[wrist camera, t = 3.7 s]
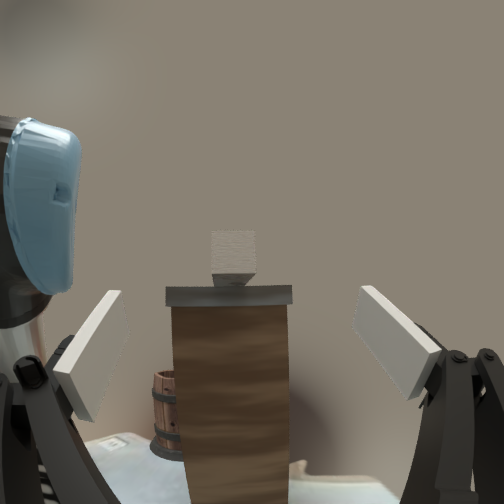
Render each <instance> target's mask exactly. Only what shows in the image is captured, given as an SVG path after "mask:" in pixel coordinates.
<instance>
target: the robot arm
mask: <svg viewBox="0 0 504 504" xmlns="http://www.w3.org/2000/svg"><path fill="white" fill-rule="evenodd" d="M81 157H82V150H81V145H80V142H79V140H78V138H77V137H76V136H75V135H74V134H73V133H72V132H71V131H69V130H66V129H62V128H59V127H55V126H51V125H47V124H43V123H40V122H39V121H37V120H36V119H33V118H29V117H28V118H25V119H23V118H16V117H9V116H1V115H0V504H45V502H44V497H43V492H42V487H41V481H40V474H39V467H38V458H37V448H38V451H39V454H40V457H41V460H42V462H43V465H44V467H45V470H46V473H47V475H48V477H49V480H50V482H51V484H52V487H53V489H54V491H55V493H56V495H57V497H58V499H59V501H60V503H61V504H121V503H120V501H119V500H118V499H117V497H116V496H115V494H114V493H113V492H112V490H111V489H110V487H109V486H108V484H107V483H106V481H105V479H104V478H103V476H102V475H101V473H100V471H99V470H98V468H97V466H96V465H95V463H94V461H93V459H92V458H91V456H90V454H89V452H88V450H87V448H86V447H85V445H84V443H83V441H82V439H81V437H80V435H79V433H78V431H77V428H76V426H75V424H74V422H73V420H72V419H71V415H72V412H73V410H74V412H75V414H76V415H77V417H78V419H80V420H85V421H89V422H95V419H96V416H97V414H98V411H99V408H100V405H101V403H102V400H103V397H104V395H105V392H106V389H107V387H108V385H109V382H110V380H111V377H112V375H113V372H114V370H115V367H116V365H117V362H118V360H119V358H120V355H121V353H122V351H123V348H124V346H125V344H126V341H127V339H128V337H129V335H130V332H129V328H128V323H127V318H126V313H125V308H124V303H123V297H122V291H116V290H109V291H108V292H107V293H106V295H105V296H104V297H103V298H102V300H101V301H100V302H99V304H98V305H97V307H96V308H95V309H94V310H93V312H92V313H91V314H90V316H89V318H88V319H87V320H86V321H85V323H84V324H83V326H82V327H81V328H80V330H79V331H78V333H77V334H76V335H69V336H68V337H67V338H65V339H64V340H63V341H62V342H61V343H60V345H59V346H58V349H56V350H55V352H54V354H53V355H52V356H51V358H50V359H49V360H48V355H47V348H46V341H45V330H44V319H43V312H44V311H45V310H46V308H47V307H48V305H49V304H50V302H51V300H52V298H53V296H54V295H55V294H57V293H60V292H61V293H63V292H66V291H68V289H70V288H71V285H72V281H73V258H74V229H75V213H76V205H77V195H78V185H79V176H80V167H81ZM352 328H353V329H354V330H355V332H356V333H357V334H358V336H359V337H360V338H361V339H362V341H363V342H364V343H365V345H366V346H367V347H368V349H369V350H370V351H371V353H372V354H373V355H374V357H375V358H376V359H377V361H378V362H379V363H380V365H381V366H382V367H383V369H384V370H385V371H386V373H387V374H388V375H389V377H390V378H391V380H392V381H393V382H394V384H395V385H396V386H397V388H398V389H399V391H400V392H401V393H402V395H403V396H404V398H405V399H406V400H407V401H408V400H410V399H413V398H416V397H419V395H420V394H421V392H422V390H423V388H424V387H425V388H426V389H427V391H428V392H427V394H426V395H425V397H424V399H423V401H422V402H421V404H420V406H419V408H421V407H422V405H424V407H423V414H422V420H421V426H420V431H419V436H418V441H417V445H416V450H415V454H414V458H413V462H412V466H411V470H410V473H409V477H408V480H407V483H406V486H405V489H404V492H403V495H402V498H401V501H400V504H504V366H503V364H502V362H501V360H500V359H499V357H498V355H497V354H496V353H495V352H494V351H493V350H490V349H486V348H483V349H481V350H480V351H479V353H478V355H477V357H476V358H468V357H467V356H466V354H464V353H462V352H460V351H457V350H451V351H448V350H447V349H446V348H445V347H444V346H442V345H441V344H440V343H439V342H438V341H437V340H436V339H435V338H433V336H432V335H431V334H429V333H428V332H427V331H426V330H425V329H424V328H423V327H422V326H420V325H418V324H416V323H414V322H412V321H411V320H410V319H409V318H408V317H406V316H405V315H404V314H403V313H402V312H401V311H400V310H399V309H398V308H396V307H395V306H394V305H393V304H392V303H391V302H390V301H388V299H386V298H385V297H384V296H383V295H382V294H381V293H379V292H378V291H377V290H376V289H375V288H374V287H373V286H360V291H359V296H358V301H357V306H356V311H355V315H354V320H353V324H352ZM484 386H485V388H486V392H485V394H484V395H483V396H482V393H481V391H482V390H483V388H484ZM36 445H37V446H36ZM472 469H473V474H474V483H475V492H473V491H471V489H470V486H471V478H472Z"/></svg>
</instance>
